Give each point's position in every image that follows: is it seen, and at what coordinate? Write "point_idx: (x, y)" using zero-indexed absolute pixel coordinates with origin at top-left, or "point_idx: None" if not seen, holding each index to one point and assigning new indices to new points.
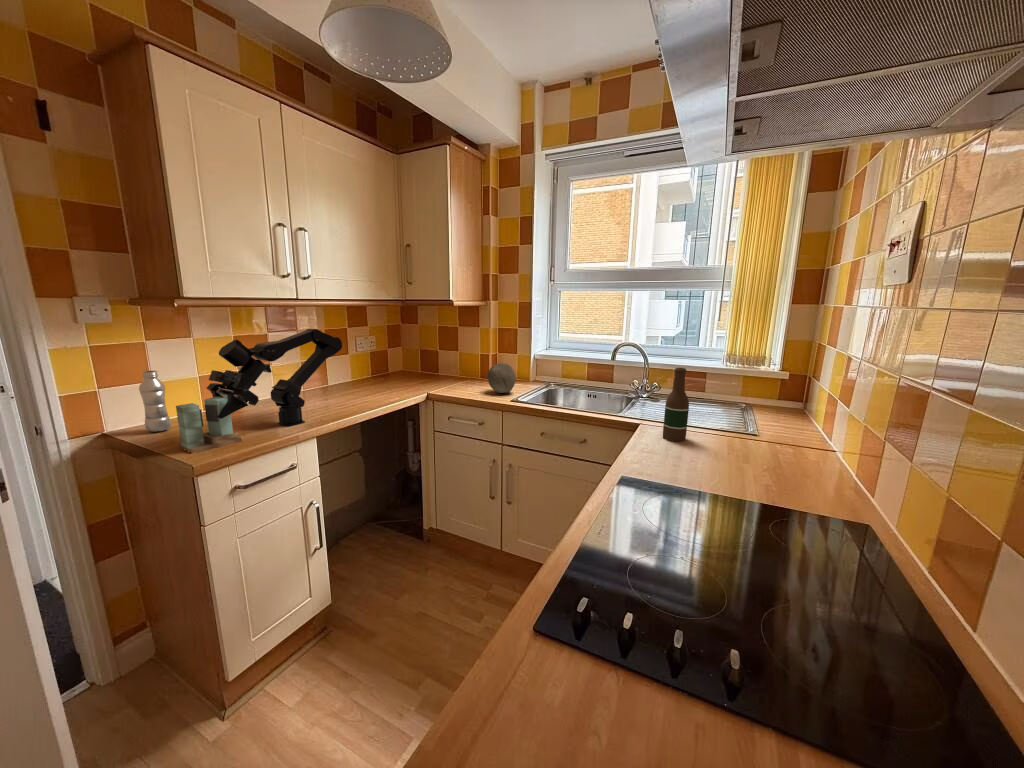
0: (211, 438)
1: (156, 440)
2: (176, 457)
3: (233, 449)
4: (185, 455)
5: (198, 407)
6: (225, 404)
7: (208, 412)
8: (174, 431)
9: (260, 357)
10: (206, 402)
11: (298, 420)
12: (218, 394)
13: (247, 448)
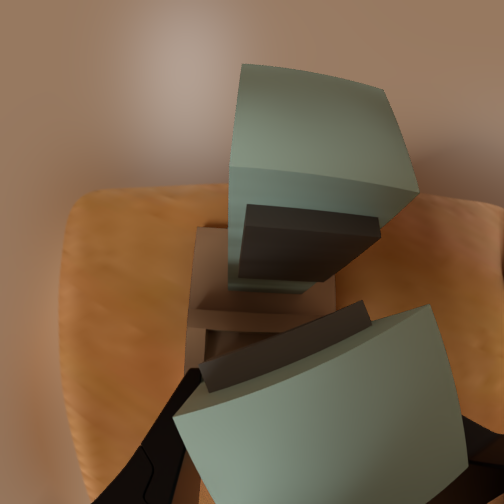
0: (199, 309)
1: (450, 238)
2: (204, 188)
3: (104, 345)
4: (198, 212)
5: (230, 176)
6: (174, 477)
7: (294, 328)
8: (496, 307)
9: None
10: (381, 326)
11: None
12: (486, 494)
13: (73, 377)
